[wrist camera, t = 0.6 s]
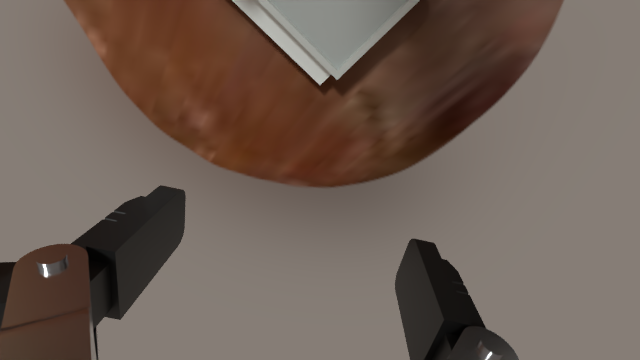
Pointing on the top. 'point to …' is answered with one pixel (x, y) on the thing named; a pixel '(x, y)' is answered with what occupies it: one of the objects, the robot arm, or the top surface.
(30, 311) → the robot arm
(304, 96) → the top surface
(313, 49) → the board
